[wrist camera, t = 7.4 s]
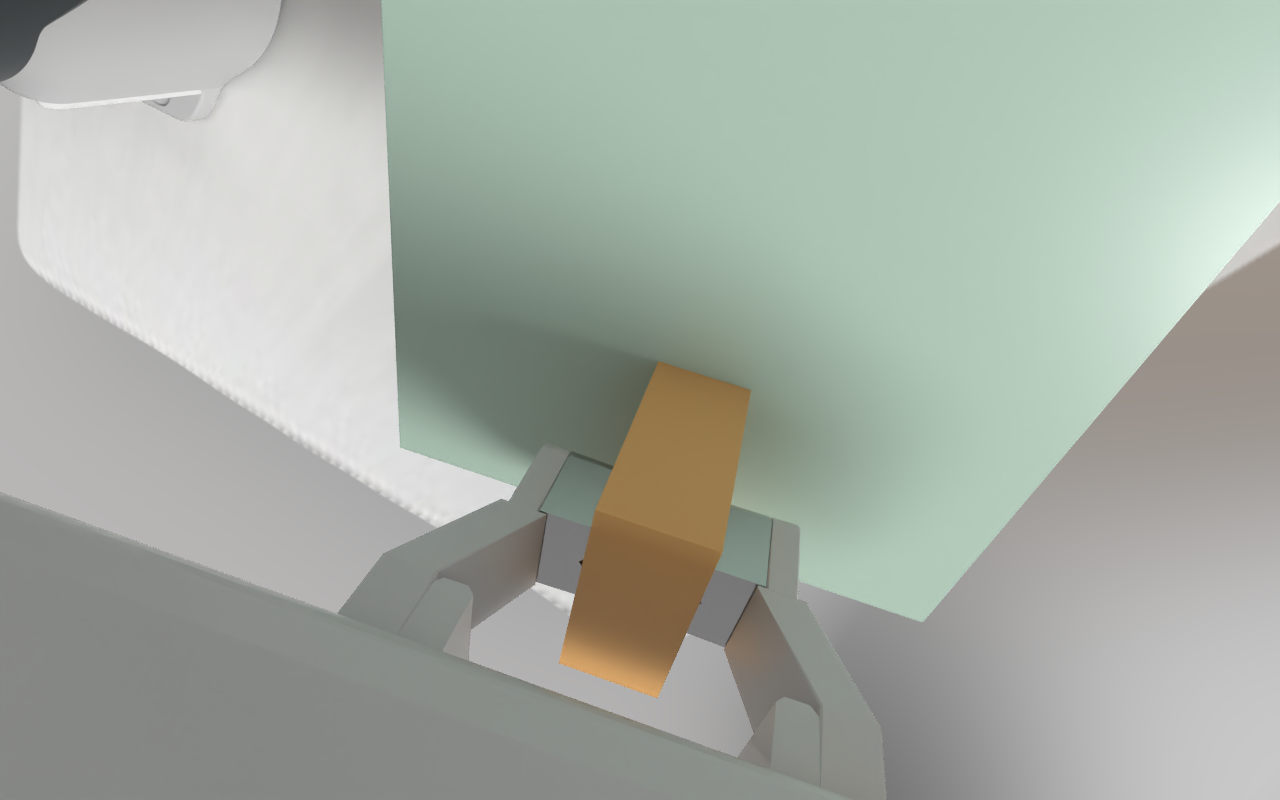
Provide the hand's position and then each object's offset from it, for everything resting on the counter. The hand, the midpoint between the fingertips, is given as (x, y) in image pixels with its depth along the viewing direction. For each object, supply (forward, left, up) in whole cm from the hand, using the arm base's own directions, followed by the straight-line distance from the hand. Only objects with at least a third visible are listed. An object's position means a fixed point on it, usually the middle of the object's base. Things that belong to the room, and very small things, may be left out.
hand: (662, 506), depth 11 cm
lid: (0, +5, -4) cm, 6 cm away
